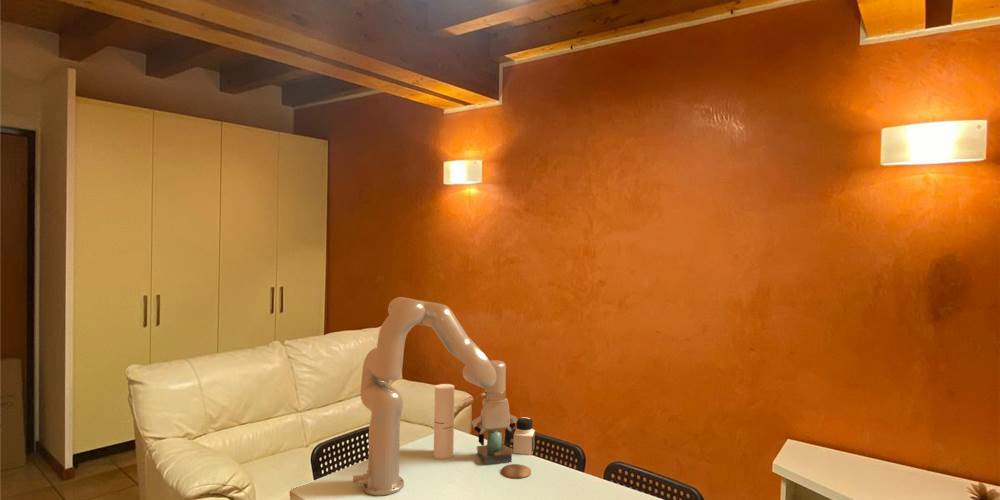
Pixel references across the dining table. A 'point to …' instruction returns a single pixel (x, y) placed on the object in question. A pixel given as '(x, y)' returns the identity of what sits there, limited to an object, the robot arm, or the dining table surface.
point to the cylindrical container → (444, 421)
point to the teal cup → (494, 440)
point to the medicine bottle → (524, 436)
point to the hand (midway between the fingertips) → (494, 442)
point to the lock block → (494, 455)
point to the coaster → (516, 471)
